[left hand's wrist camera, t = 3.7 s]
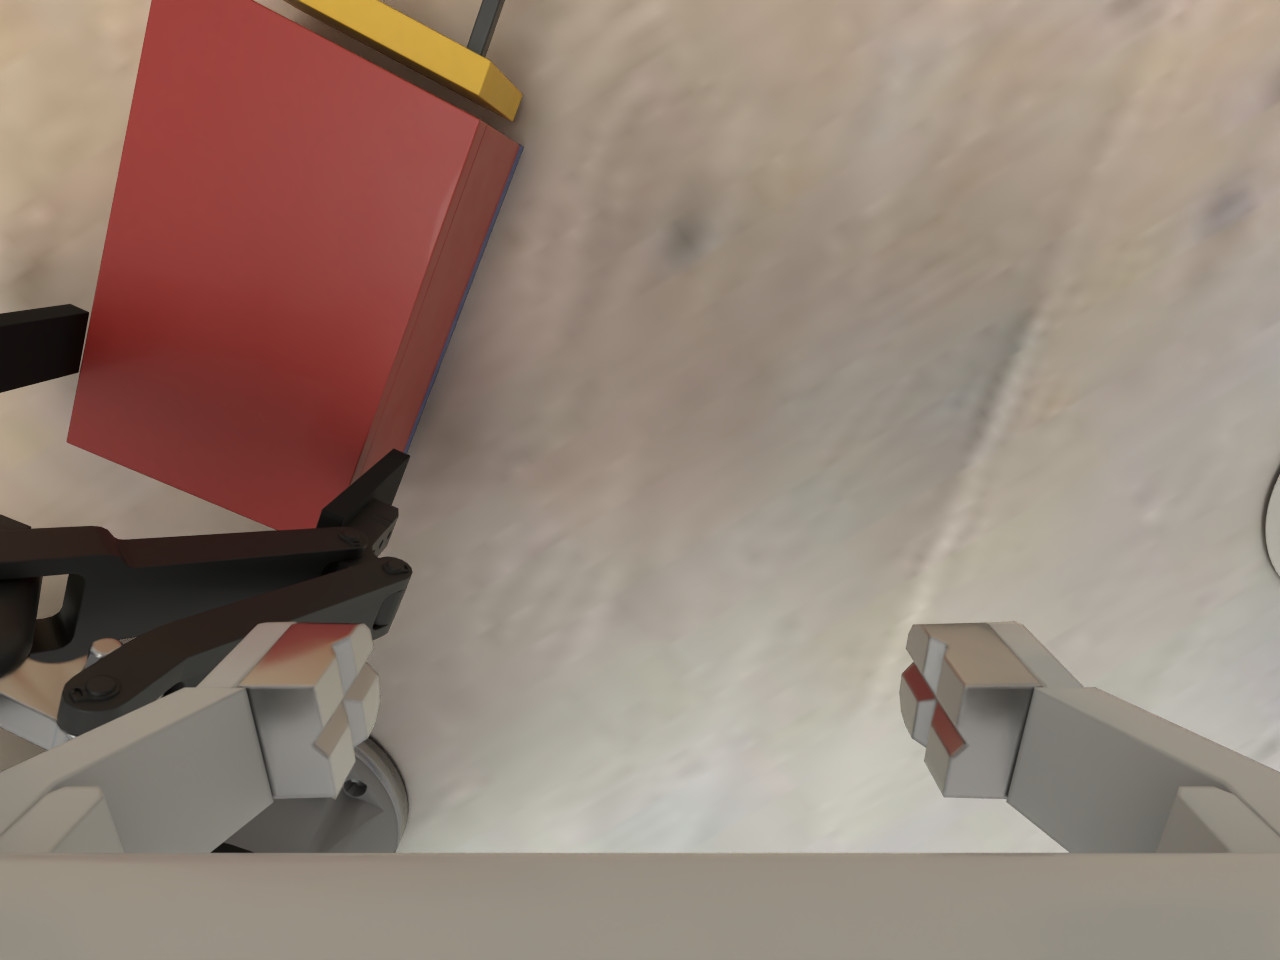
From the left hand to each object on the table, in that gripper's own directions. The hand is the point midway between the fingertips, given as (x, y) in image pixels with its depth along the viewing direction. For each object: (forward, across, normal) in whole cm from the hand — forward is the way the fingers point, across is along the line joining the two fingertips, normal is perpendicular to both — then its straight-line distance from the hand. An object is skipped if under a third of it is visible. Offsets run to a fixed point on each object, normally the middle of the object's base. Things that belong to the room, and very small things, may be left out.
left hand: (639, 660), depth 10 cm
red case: (+26, -14, +4) cm, 30 cm away
